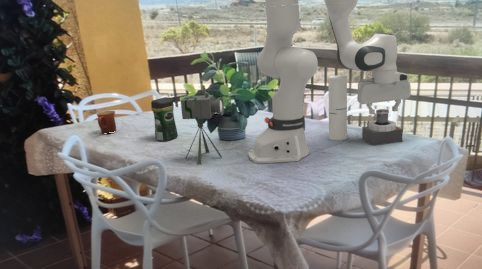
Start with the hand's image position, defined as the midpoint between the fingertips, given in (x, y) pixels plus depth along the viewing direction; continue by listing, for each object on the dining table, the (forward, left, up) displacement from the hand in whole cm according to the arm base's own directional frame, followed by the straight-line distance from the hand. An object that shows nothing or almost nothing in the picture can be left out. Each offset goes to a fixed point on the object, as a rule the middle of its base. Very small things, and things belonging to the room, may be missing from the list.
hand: (383, 112), depth 155 cm
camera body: (0, 0, -11) cm, 11 cm away
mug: (-113, +58, -11) cm, 128 cm away
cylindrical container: (-14, +10, -11) cm, 21 cm away
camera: (-69, +4, -11) cm, 70 cm away
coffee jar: (-84, +37, -11) cm, 93 cm away
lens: (-1, 0, -6) cm, 6 cm away
